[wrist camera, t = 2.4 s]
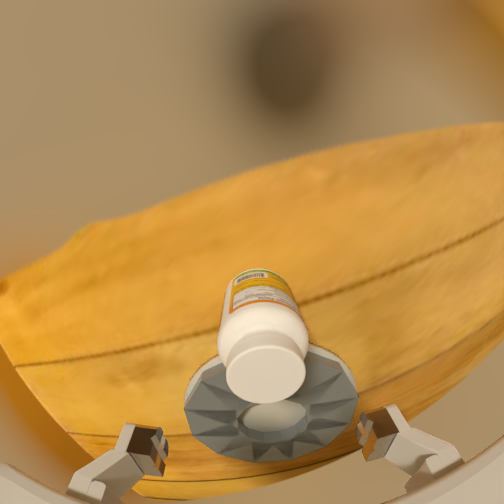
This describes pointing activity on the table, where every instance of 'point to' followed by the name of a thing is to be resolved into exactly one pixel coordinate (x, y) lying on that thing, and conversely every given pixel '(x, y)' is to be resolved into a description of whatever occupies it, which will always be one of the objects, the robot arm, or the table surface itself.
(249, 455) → the grey faceted round plate
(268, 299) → the supplement bottle
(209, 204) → the table surface
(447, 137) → the table surface
